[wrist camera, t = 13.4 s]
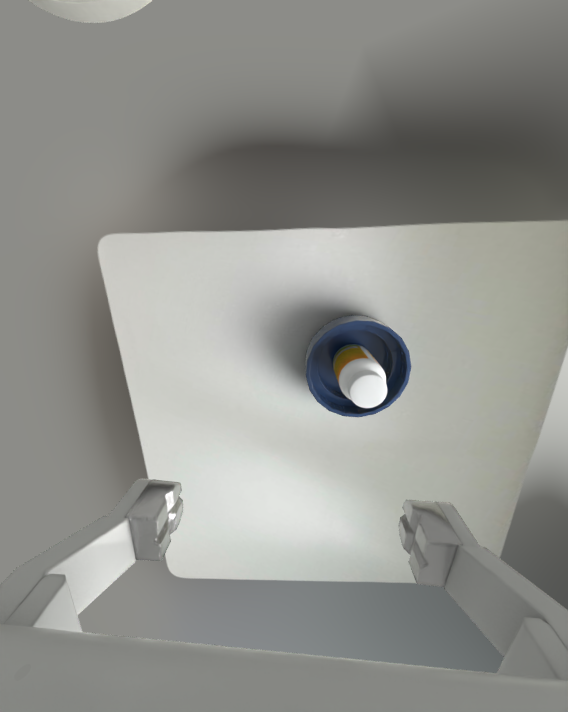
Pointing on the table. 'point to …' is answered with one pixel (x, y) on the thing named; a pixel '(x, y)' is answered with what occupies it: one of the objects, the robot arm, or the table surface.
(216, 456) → the table surface
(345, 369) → the supplement bottle
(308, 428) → the table surface
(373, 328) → the blue bowl
